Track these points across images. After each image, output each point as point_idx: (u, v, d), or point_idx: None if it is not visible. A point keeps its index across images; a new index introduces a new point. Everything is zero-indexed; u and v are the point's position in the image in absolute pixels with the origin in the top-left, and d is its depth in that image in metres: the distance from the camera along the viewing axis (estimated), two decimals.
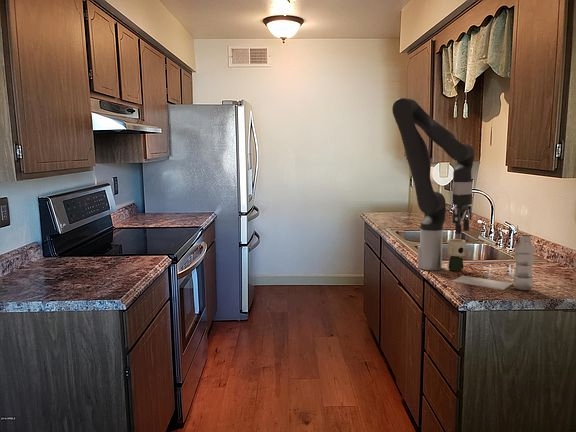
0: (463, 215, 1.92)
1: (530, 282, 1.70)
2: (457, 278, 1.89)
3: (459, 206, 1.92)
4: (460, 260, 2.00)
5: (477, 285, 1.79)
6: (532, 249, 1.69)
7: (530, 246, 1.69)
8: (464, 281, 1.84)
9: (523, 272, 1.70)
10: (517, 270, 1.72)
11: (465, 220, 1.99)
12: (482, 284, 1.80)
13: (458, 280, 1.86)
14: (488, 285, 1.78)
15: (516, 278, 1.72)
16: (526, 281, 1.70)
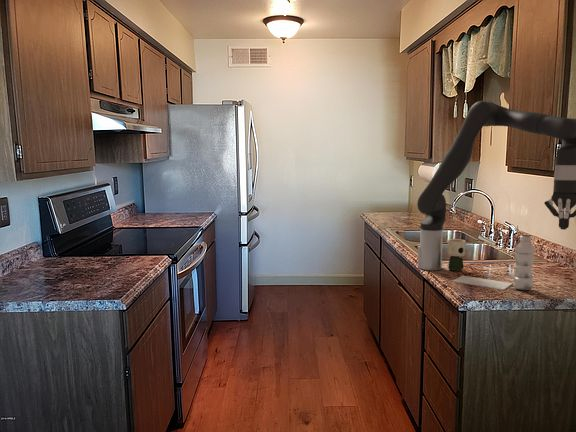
0: None
1: (530, 282, 1.70)
2: (457, 278, 1.89)
3: None
4: (460, 260, 2.00)
5: (477, 285, 1.79)
6: (532, 249, 1.69)
7: (530, 246, 1.69)
8: (464, 281, 1.84)
9: (523, 272, 1.70)
10: (517, 270, 1.72)
11: (563, 216, 1.62)
12: (482, 284, 1.80)
13: (458, 280, 1.86)
14: (488, 285, 1.78)
15: (516, 278, 1.72)
16: (526, 281, 1.70)
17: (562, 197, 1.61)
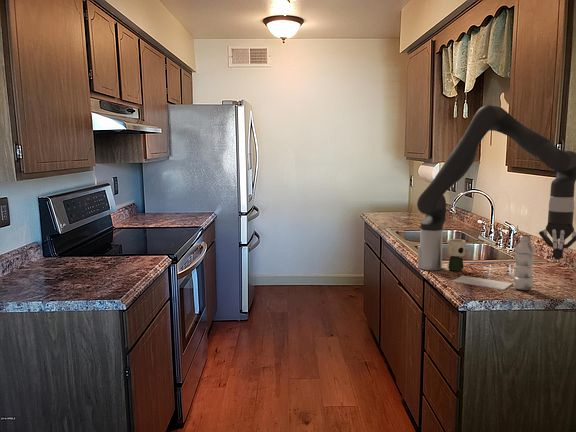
0: None
1: (530, 282, 1.70)
2: (457, 278, 1.89)
3: (572, 225, 1.61)
4: (460, 260, 2.00)
5: (477, 285, 1.79)
6: (532, 249, 1.69)
7: (530, 246, 1.69)
8: (464, 281, 1.84)
9: (523, 272, 1.70)
10: (517, 270, 1.72)
11: (557, 247, 1.65)
12: (482, 284, 1.80)
13: (458, 280, 1.86)
14: (488, 285, 1.78)
15: (516, 278, 1.72)
16: (526, 281, 1.70)
17: (556, 228, 1.63)
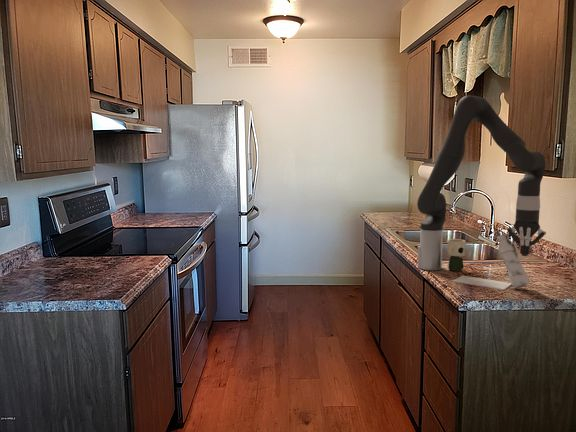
0: None
1: (525, 276, 1.71)
2: (457, 278, 1.89)
3: (538, 223, 1.68)
4: (460, 260, 2.00)
5: (477, 285, 1.79)
6: (513, 245, 1.73)
7: (510, 242, 1.74)
8: (464, 281, 1.84)
9: (514, 269, 1.72)
10: (508, 269, 1.74)
11: (524, 243, 1.71)
12: (482, 284, 1.80)
13: (458, 280, 1.86)
14: (488, 285, 1.78)
15: (511, 277, 1.73)
16: (520, 277, 1.71)
17: (523, 225, 1.70)
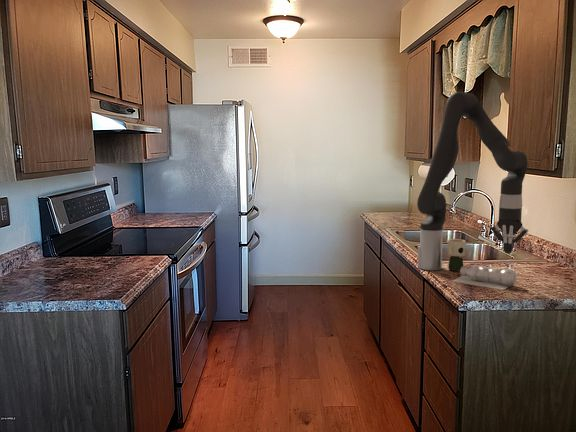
0: None
1: (505, 269, 1.77)
2: (457, 278, 1.89)
3: (520, 221, 1.72)
4: (460, 260, 2.00)
5: (477, 285, 1.79)
6: (473, 265, 1.85)
7: (470, 266, 1.85)
8: (464, 281, 1.84)
9: (494, 274, 1.78)
10: (492, 279, 1.79)
11: (507, 241, 1.75)
12: (482, 284, 1.80)
13: (458, 280, 1.86)
14: (488, 285, 1.78)
15: (500, 281, 1.76)
16: (503, 272, 1.76)
17: (506, 223, 1.74)
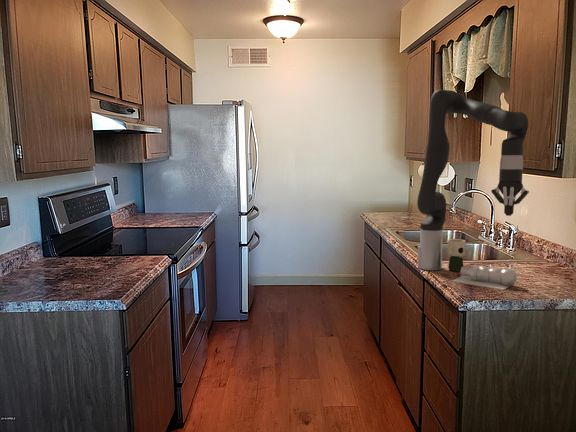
0: None
1: None
2: (457, 278, 1.89)
3: (521, 182, 1.70)
4: (460, 260, 2.00)
5: (477, 285, 1.79)
6: (474, 265, 1.86)
7: (471, 266, 1.86)
8: (464, 281, 1.84)
9: (495, 272, 1.78)
10: (493, 278, 1.79)
11: (508, 203, 1.74)
12: (482, 284, 1.80)
13: (458, 280, 1.86)
14: (488, 285, 1.78)
15: (501, 279, 1.77)
16: (504, 271, 1.77)
17: (507, 185, 1.72)
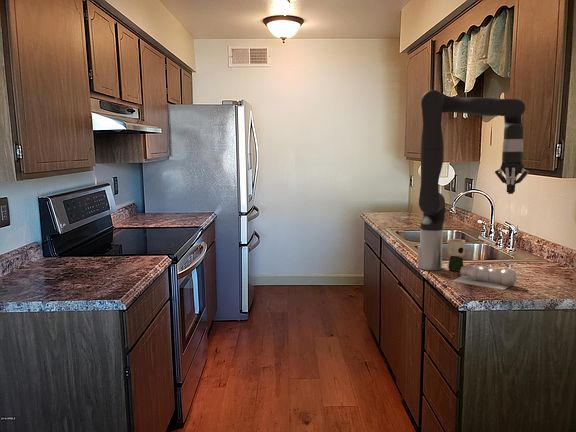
0: None
1: (506, 269, 1.77)
2: (457, 278, 1.89)
3: None
4: (460, 260, 2.00)
5: (477, 285, 1.79)
6: (474, 265, 1.85)
7: (470, 266, 1.86)
8: (464, 281, 1.84)
9: (494, 273, 1.78)
10: (493, 278, 1.79)
11: (510, 183, 1.93)
12: (482, 284, 1.80)
13: (458, 280, 1.86)
14: (488, 285, 1.78)
15: (501, 280, 1.77)
16: (504, 271, 1.77)
17: (509, 166, 1.91)
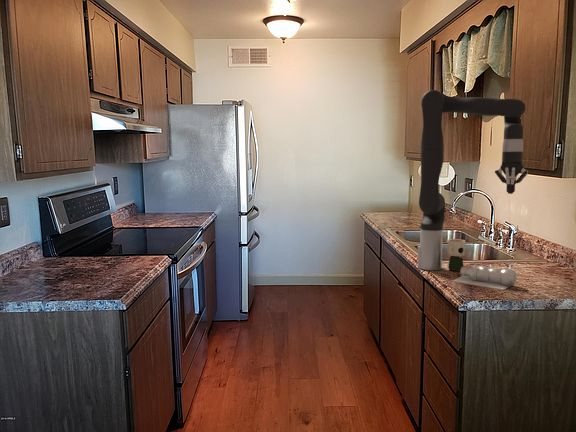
0: None
1: (506, 269, 1.78)
2: (457, 278, 1.89)
3: None
4: (460, 260, 2.00)
5: (477, 285, 1.79)
6: (474, 265, 1.85)
7: (471, 266, 1.86)
8: (464, 281, 1.84)
9: (494, 273, 1.78)
10: (493, 278, 1.79)
11: (510, 182, 1.93)
12: (482, 284, 1.80)
13: (458, 280, 1.86)
14: (488, 285, 1.78)
15: (501, 279, 1.77)
16: (504, 271, 1.77)
17: (509, 166, 1.92)
